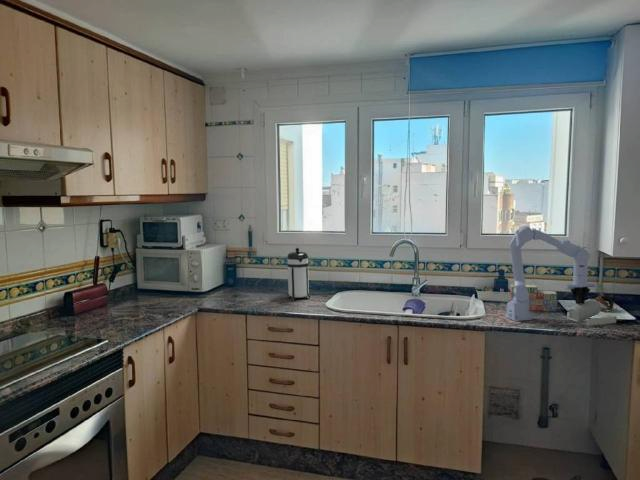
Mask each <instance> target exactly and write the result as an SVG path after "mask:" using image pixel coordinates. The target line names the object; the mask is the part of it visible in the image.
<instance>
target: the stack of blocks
mask: <svg viewBox="0 0 640 480" xmlns="http://www.w3.org/2000/svg"><path fill="white" fill-rule="evenodd" d="M514 287H515V283H513V284H510V290H509V292H510V293H509V295H510V296H509V299H510V301H512V300H513V298H514V297H515V294H514ZM526 288H527V291H528V292H529V298H528V299H529V311H532V312H533V311H534V312H535V311H536V312H557V310H558V309H557V308H558V307H557V306H558V293H557V292H556V291H555V290H553V291H552V290H538V289H539V288H538V286H537V285H536V284H526Z"/></svg>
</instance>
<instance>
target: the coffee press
mask: <svg viewBox="0 0 640 480" xmlns="http://www.w3.org/2000/svg"><path fill="white" fill-rule="evenodd" d="M286 259H287V260H286V261H287V264H286V265H287V266H286V267H287V285H288V287H287V289H288V291H287V292H288V293H287V296H288V295H289V296H291V297H290V298H291V299H294V298H295V299H296V298H306V297H308V298H310V299H311V296H310V293H309V292H310V291H309V289H310V288H309V287H310V286H309V255H308V253H307V252H306V251H305V252H304V251H300V248H299V247H296V248H295V251H291V252H289V253H287V256H286Z"/></svg>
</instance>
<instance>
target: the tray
mask: <svg viewBox="0 0 640 480" xmlns="http://www.w3.org/2000/svg"><path fill="white" fill-rule="evenodd" d="M597 316H600V317H601V318H591V319H586V320H583V321H581V322H578V321H575V320H574V319H573V318H572V317H571V315H570V311H567V313H566V318H567V320H568V319H569V320H571V321H573V322H576V323H579V324H582V325H585V326H587V327H591V326H592V327H593V326H601V325H611V324H616V323H617V316H615V315H612V314H610V313H606V312H603V311H600V312H599V314H597Z"/></svg>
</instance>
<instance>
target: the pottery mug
mask: <svg viewBox="0 0 640 480" xmlns="http://www.w3.org/2000/svg"><path fill="white" fill-rule="evenodd" d="M593 299H594V300H596V301H598V302H599V304H600V305H601V304H602V305H603V306H604V307H606V309H605V311H606V310H610V311H612V310H613V308H614V305H615V302H614V301H613V300H612V299H611V298H610V297H608V296H605V295H599V296H597V297H594V298H593Z"/></svg>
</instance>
